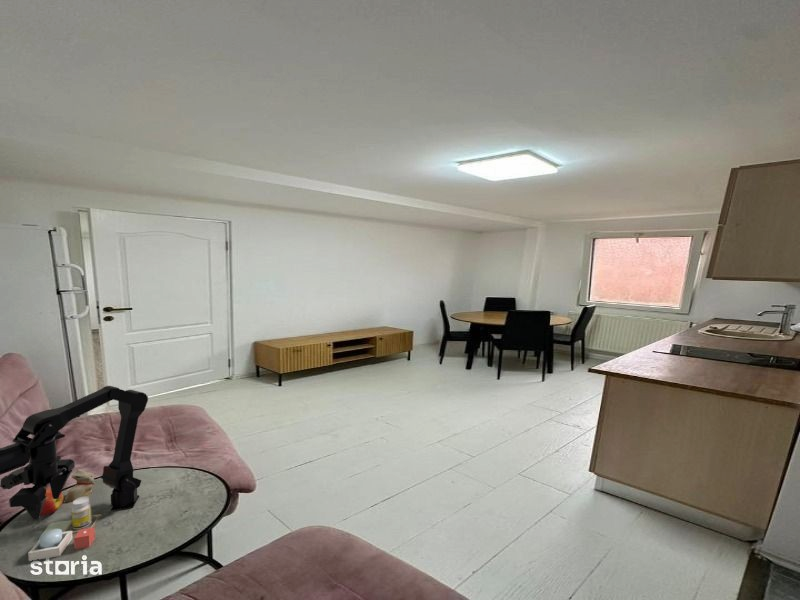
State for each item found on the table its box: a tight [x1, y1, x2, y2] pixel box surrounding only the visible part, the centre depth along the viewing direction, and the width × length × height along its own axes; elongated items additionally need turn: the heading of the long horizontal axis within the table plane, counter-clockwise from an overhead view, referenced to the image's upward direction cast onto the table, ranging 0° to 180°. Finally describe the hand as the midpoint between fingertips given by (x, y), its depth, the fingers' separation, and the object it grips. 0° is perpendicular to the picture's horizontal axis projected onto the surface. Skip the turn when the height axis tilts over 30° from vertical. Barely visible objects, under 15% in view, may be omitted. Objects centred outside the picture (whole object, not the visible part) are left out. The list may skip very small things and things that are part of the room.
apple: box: [40, 488, 64, 517], centre depth 122 cm, size 8×8×8 cm
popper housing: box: [27, 530, 74, 562], centre depth 108 cm, size 7×7×2 cm
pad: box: [41, 519, 72, 535], centre depth 116 cm, size 6×6×1 cm
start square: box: [64, 513, 102, 534], centre depth 118 cm, size 7×7×1 cm
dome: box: [38, 529, 62, 549], centre depth 107 cm, size 5×5×3 cm
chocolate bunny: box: [64, 468, 95, 503], centre depth 131 cm, size 6×8×10 cm
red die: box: [73, 526, 96, 550], centre depth 110 cm, size 4×4×4 cm
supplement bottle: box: [71, 495, 93, 530], centre depth 117 cm, size 5×5×8 cm
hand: (46, 508), depth 107 cm, fingers open, 9 cm apart
